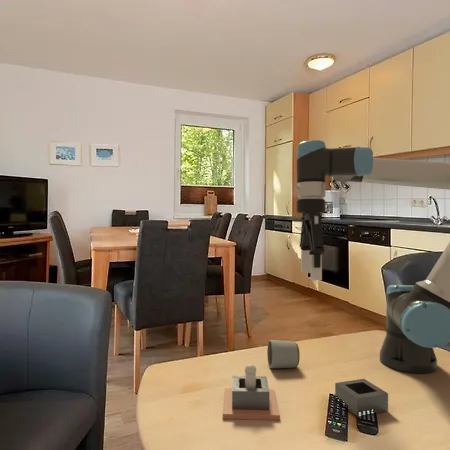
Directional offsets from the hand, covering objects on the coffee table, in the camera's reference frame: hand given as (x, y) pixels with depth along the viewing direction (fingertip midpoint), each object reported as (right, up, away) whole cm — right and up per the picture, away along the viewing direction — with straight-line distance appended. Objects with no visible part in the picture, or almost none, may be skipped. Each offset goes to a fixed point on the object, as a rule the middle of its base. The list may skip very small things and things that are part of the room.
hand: (310, 276), depth 102 cm
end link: (-18, -26, -18) cm, 36 cm away
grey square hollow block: (+7, -27, -18) cm, 33 cm away
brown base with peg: (-18, -27, -18) cm, 37 cm away
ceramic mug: (-7, -27, +6) cm, 28 cm away
